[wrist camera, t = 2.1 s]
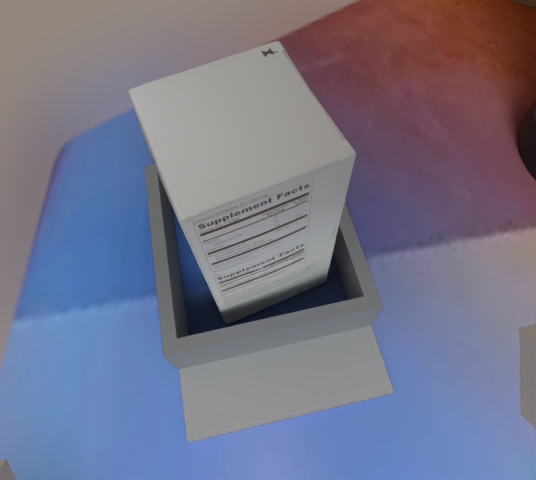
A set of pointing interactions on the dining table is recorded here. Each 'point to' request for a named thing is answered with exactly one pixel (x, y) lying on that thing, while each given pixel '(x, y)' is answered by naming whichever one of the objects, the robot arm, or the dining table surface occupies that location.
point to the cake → (526, 2)
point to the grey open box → (267, 342)
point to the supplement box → (249, 174)
